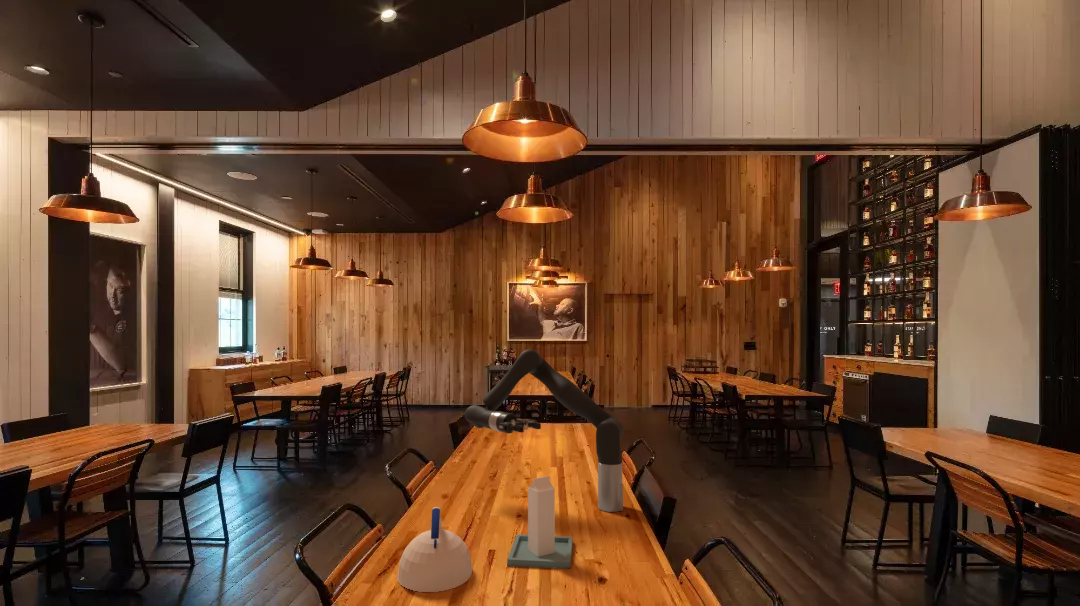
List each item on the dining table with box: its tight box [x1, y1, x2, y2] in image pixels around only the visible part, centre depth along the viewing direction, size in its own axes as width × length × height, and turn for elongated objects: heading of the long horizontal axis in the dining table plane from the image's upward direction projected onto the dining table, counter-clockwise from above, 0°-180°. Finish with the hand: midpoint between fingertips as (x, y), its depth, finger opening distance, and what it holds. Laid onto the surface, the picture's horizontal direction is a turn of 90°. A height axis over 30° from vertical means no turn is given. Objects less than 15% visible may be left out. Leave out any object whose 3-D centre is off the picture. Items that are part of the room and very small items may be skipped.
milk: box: [527, 475, 556, 557], centre depth 156 cm, size 6×6×22 cm
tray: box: [506, 534, 574, 570], centre depth 155 cm, size 18×18×2 cm
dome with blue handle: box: [397, 506, 473, 593], centre depth 142 cm, size 20×21×18 cm
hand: (531, 427), depth 186 cm, fingers open, 8 cm apart
